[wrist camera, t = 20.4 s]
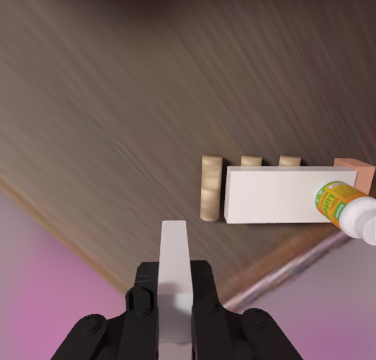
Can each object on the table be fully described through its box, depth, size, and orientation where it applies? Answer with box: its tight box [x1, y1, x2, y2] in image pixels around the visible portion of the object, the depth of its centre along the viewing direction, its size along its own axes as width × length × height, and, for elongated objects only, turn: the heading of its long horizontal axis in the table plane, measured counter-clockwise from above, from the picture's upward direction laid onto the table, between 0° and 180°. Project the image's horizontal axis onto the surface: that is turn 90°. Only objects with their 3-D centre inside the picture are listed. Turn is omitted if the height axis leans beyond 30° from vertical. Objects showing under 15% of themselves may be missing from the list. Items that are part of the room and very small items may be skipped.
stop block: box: [333, 158, 375, 195], centre depth 41 cm, size 3×9×5 cm, turn 179°
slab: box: [224, 166, 357, 223], centre depth 39 cm, size 18×8×2 cm, turn 89°
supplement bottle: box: [314, 180, 376, 246], centre depth 34 cm, size 5×5×10 cm
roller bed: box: [200, 155, 301, 221], centre depth 41 cm, size 15×10×3 cm, turn 89°
